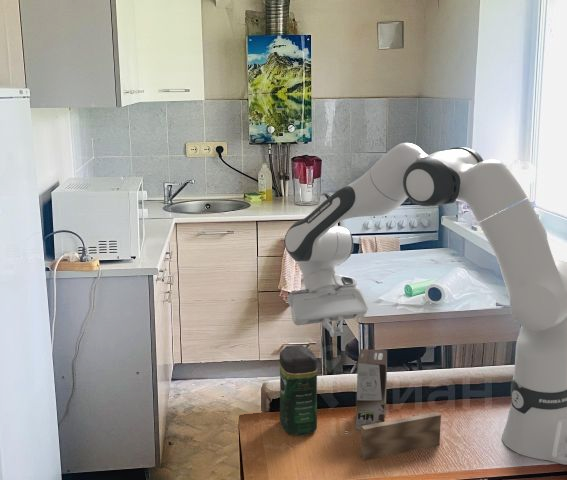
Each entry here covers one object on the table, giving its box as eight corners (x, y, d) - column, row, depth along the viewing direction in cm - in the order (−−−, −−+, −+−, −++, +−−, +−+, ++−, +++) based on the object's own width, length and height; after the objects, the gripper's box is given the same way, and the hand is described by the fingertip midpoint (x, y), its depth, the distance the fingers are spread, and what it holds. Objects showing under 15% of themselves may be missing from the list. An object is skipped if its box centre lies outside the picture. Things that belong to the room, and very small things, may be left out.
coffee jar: (321, 434, 152) (321, 356, 148) (286, 439, 150) (286, 359, 146) (309, 415, 161) (309, 340, 157) (276, 419, 159) (275, 343, 155)
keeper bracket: (426, 433, 152) (427, 404, 151) (439, 445, 147) (441, 415, 146) (352, 447, 147) (352, 417, 145) (363, 460, 141) (364, 429, 140)
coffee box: (384, 432, 153) (386, 364, 149) (355, 430, 154) (356, 362, 151) (386, 413, 162) (388, 349, 158) (359, 411, 163) (360, 347, 159)
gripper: (288, 285, 174) (301, 334, 167) (361, 277, 181) (377, 324, 174) (282, 297, 179) (295, 345, 172) (353, 289, 186) (369, 335, 179)
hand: (337, 335), depth 173 cm, fingers closed
